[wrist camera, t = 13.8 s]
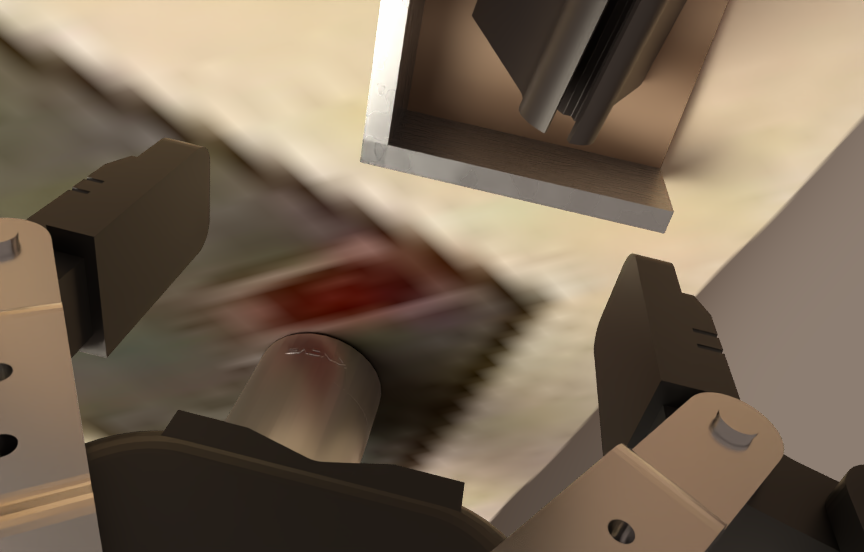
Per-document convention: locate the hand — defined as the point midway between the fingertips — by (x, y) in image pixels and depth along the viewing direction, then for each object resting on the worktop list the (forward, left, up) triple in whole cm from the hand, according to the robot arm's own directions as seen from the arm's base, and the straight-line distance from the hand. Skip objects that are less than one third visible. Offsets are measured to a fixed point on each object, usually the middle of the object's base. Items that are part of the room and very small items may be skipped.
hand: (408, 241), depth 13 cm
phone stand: (+1, -4, -24) cm, 24 cm away
